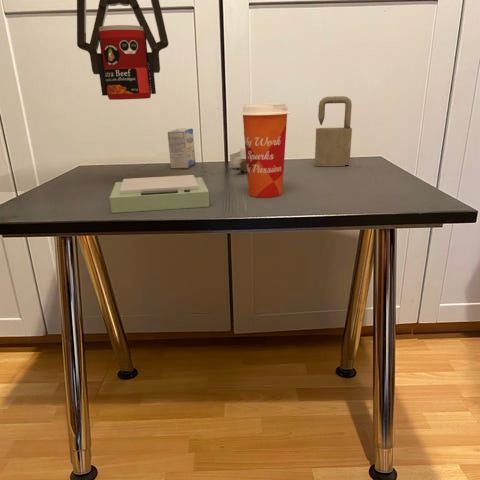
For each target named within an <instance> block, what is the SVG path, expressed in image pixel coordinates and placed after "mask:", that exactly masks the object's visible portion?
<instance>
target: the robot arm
mask: <svg viewBox="0 0 480 480" xmlns="http://www.w3.org/2000/svg"><path fill="white" fill-rule="evenodd" d="M150 4H151V7H152V12H153V16H154V20H155V21H154V22H155V24H156V30H157V33H158V38H159V41H156V39H155V36H154V34H153V32H152V30H151V28H150V25H149V24H148V21H147V20H146V18H145V15H144V12H143V11H142V9H141V7H140V4H139V2H138V0H99V2H98V7H97V12H96V15H95V20H94V23H93V29H92V32H91V37H90V41H89V42H87V0H76V45H77V47H78V48H79V49H80V50H82V51H84V52H85V51H86V52H87V53H88V54H89V58H90V64H91V65H90V66H91V71H92V73H93V75H99V80H100V81H99V83H100V89H101V96H107V92H106V84H105V77H104V70H103V62H102V55H101V52H99V53H98V49H99V47H100V42H99V27H101V26H105V21H106V17H107V14H108V11H109V7H116V6H119V5H120V6H122V7H129V6H130V8H131V10H132V13H133V14H134V16H135V19H136V21H137V23H138V26H142V27H143V30H144V34H145V37H146V42H147V45H148V46H149V48H150V50H151V51H147V53H148V64H149V74H150V85H151V95H157V89H156V81H155V78H156V77H155V74H159V73H160V71H161V64H160V63H161V61H160V52H161V51H162V50H164V49H167V48H168V46H169V40H168V35H167V31H166V25H165V21H164V17H163V16H164V15H163V12H162V8H161V4H160V0H150ZM107 97H108V96H107Z"/></svg>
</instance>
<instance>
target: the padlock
mask: <svg viewBox="0 0 480 480" xmlns="http://www.w3.org/2000/svg"><path fill="white" fill-rule="evenodd" d="M329 104H345V105H344V120H343V127H316V128H315V147H314V167H345V165H351V164H350V163H351V149H352V136H353V128H352V127H351V124H352V123H351V121H352V107H353V106H352V104H353V103H352V100H351V99H350V98H349V97H348V96H345V95H337V96H324V97H323V98H321V100H319V102H318V112H317V115H318V116H317V118H318V122H319V125H320V126H322V125H323V123H324V121H325V118H326V117H325V115H326V114H325V113H326V105H329Z"/></svg>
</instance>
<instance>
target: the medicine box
mask: <svg viewBox="0 0 480 480" xmlns="http://www.w3.org/2000/svg"><path fill="white" fill-rule="evenodd" d="M167 142H168V143H167V144H168V153H169V161H170V168H171V169H179V170H180V169H185V170H186V169H190V168H191V167H192V166H193V165H195V164H196V151H195V150H196V149H195V139H194V128H192V127H182V128H181V127H180V128H176V129H172V130H170V131H167Z"/></svg>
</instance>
